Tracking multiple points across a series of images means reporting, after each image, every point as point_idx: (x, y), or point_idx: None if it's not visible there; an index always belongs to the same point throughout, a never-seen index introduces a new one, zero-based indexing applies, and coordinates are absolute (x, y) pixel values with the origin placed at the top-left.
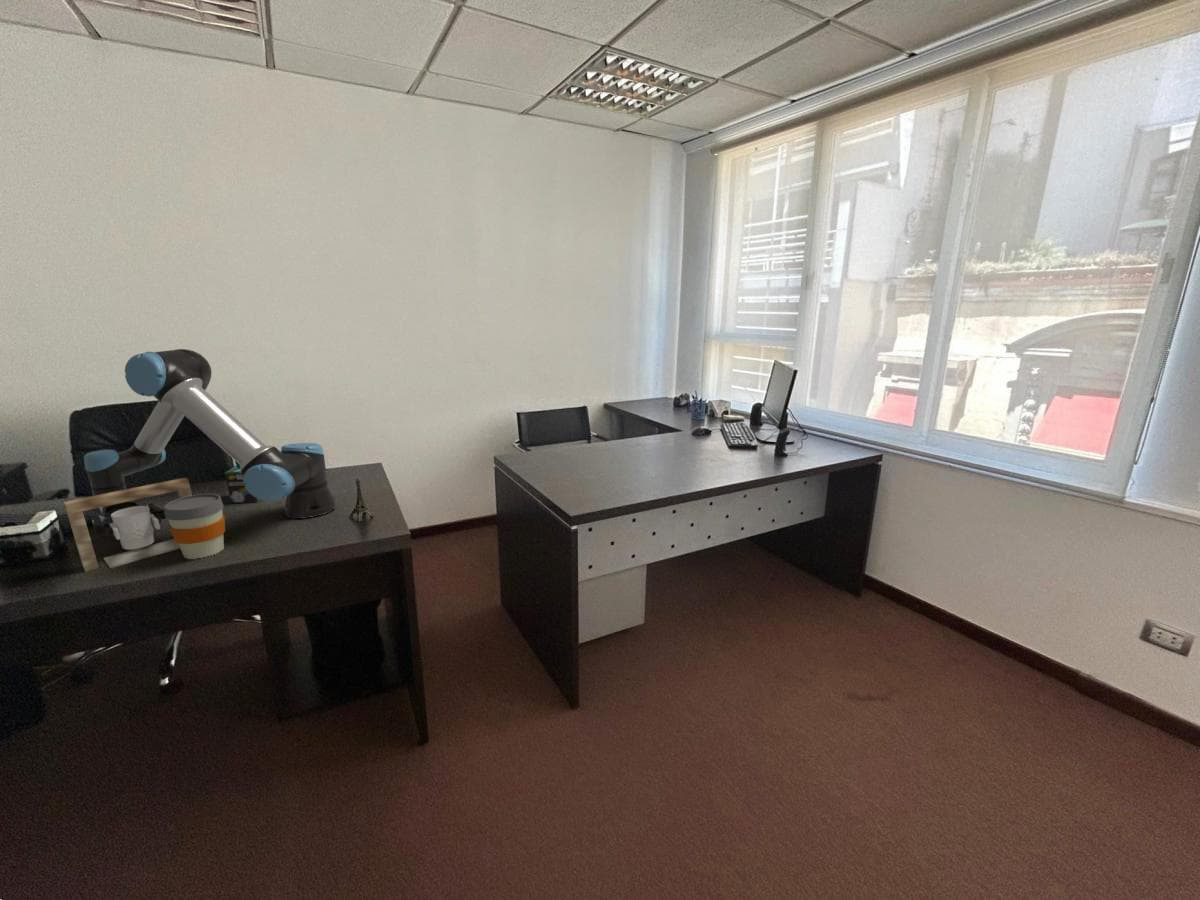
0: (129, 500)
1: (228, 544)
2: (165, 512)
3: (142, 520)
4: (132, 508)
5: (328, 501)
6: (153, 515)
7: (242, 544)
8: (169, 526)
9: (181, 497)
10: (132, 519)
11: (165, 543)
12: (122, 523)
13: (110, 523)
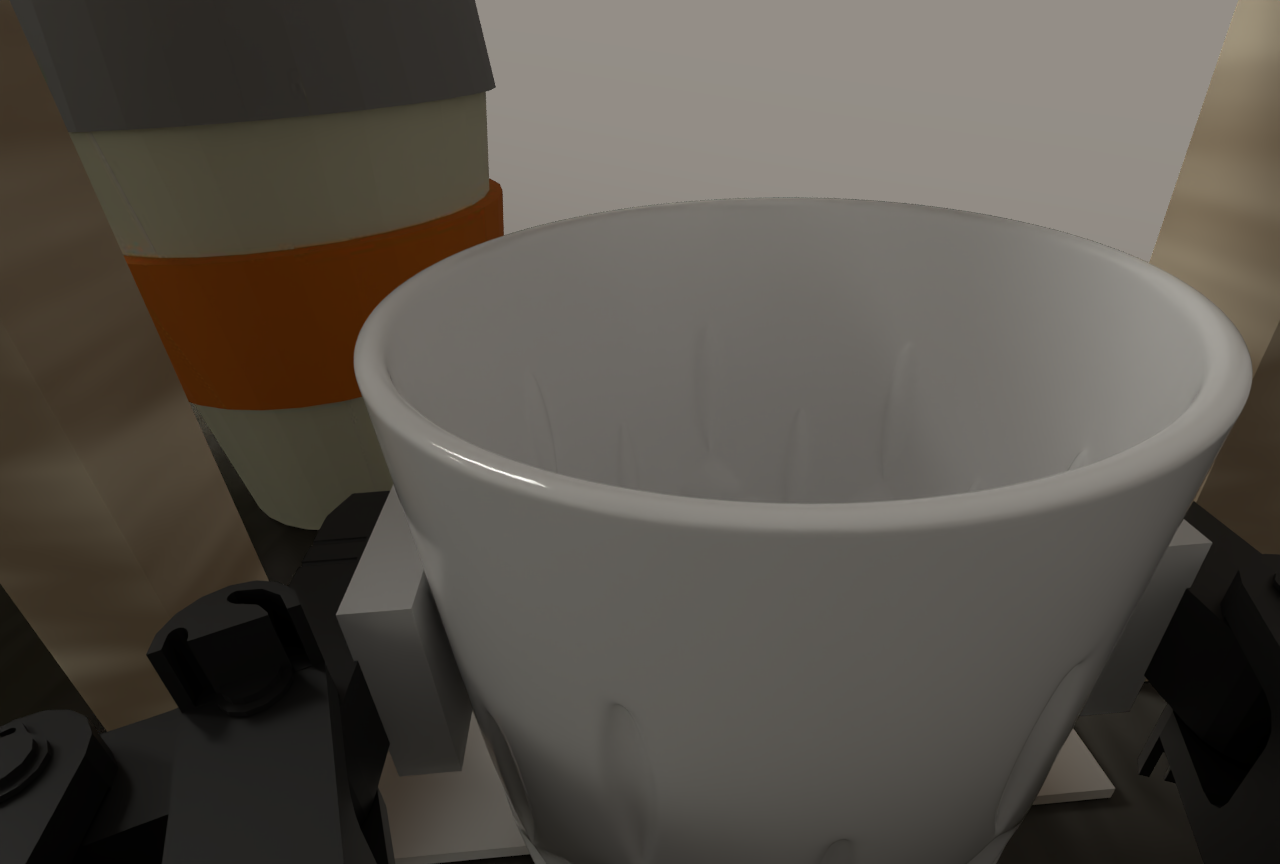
0: None
1: (231, 467)
2: (478, 30)
3: (616, 346)
4: (713, 537)
5: None
6: (389, 502)
7: (203, 432)
8: (488, 203)
9: (20, 42)
10: (732, 272)
11: (474, 758)
12: (871, 328)
13: (1275, 683)
